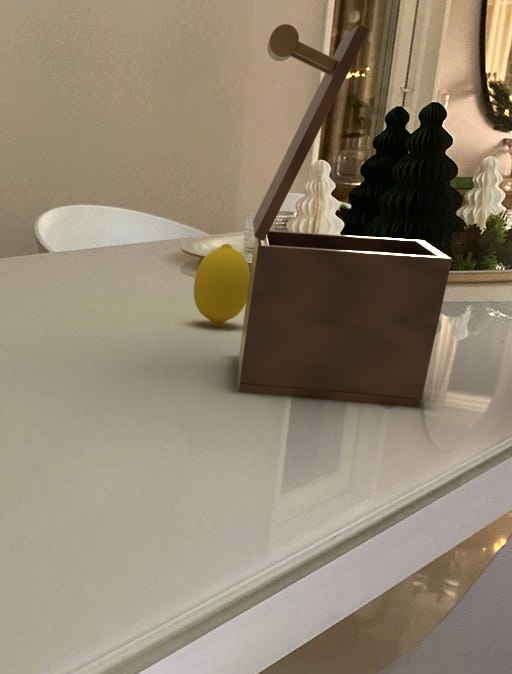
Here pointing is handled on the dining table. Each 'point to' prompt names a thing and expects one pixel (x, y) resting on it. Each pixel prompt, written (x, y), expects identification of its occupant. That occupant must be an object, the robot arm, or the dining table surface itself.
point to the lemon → (221, 284)
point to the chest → (341, 317)
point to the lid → (335, 70)
